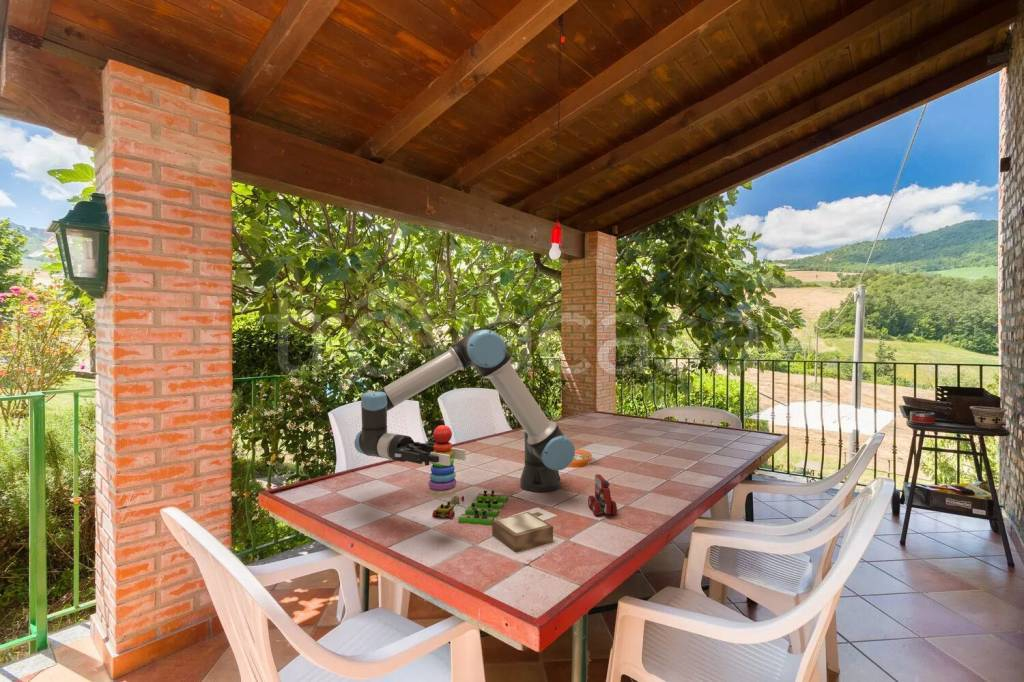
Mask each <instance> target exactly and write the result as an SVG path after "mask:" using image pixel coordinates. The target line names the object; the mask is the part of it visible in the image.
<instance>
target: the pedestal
mask: <svg viewBox="0 0 1024 682" xmlns="http://www.w3.org/2000/svg"><path fill="white" fill-rule="evenodd" d="M517 514H518V513H517ZM513 515H514V516H512V515H509V516H510V517H508V516H506V517H501V518H498V519H494V520H493V521H492V525H491V530H492V531H491V534H492V535H491V536H493V537H494V538H495V539H497V540H498V541H500V542H501V543H502V544H503V545H505V546H506V547H508V548H509V549H510V550H512V551H513V552H515V553H517V552H520V551H523V550H527V549H530V548H534V547H537V546H541V545H544V544H548V543H552V542H554V526H553V525H552V524H550V523H548V522H546V520H545V521H543V520H541V519H539V518H538V517H536V516H534V515H533V514H531V513H529V512H526V513H522V514H518V515H515V514H513Z"/></svg>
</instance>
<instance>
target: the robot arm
mask: <svg viewBox="0 0 1024 682" xmlns="http://www.w3.org/2000/svg"><path fill="white" fill-rule="evenodd" d="M512 359H513V358H512V356H511V354H510V353H509V351H508V350H507V346H506V343H505V340H504V339H503V338H502V336H501V335H500V334H498V333H497V332H495V331H493V330H490V329H480V330H479V329H478V330H474V331H471V332H469V333H468V334H466V335H465V336H464V337H463V338H461V339H459V340H458V341H457V342H455V343H453V344H452V345H450V346H449V347H448V350H447V351H445V352H444V353H442V354H440V355H437V356H436V357H435V358H433V359H431V360H429V361H428V362H427V361H426V363H424V364H423V365H420V366H419V367H417V368H416V369H414V370H412V371H410V372H408V373H406V374H405V375H403V376H401V377H400V378H398V379H396V380H394V381H392V382H391V383H389V384H387V385H386V386H384V387H382V388H380V389H378V390H376V391H369V392H368V391H367V392H364V393H362V394H361V399H360V400H361V402H360V407H361V430H360V431H359V432H358V433H357V434H356V435H355V439H354V448H355V450H356V451H357V452H358V453H360V454H362V455H366V456H367V457H377V458H380V459H386V460H387V459H388V461H389V462H391V461H395V462H400V463H405V462H409V463H414V464H419V465H422V464H423V463H424V466H429V465H430V464H432V463H435V464H441V465H446V466H450V455H447V454H441V453H435V452H433V451H435V450H434V448H433V446H434V444H435V443H436V442H432V441H429V440H428V441H425V442H420V441H414V439H413V438H412V437H411V436H409V435H404V434H399V433H392V432H388V412H389V411H390V410H392V409H393V408H395V407H396V406H398V405H400V404H402V403H403V402H405V401H407V400H409V399H410V398H413V396H416V395H417V394H420V393H421V392H423V391H424V390H426V389H427V388H429V387H431V386H433V385H435V384H436V383H438V382H440V381H442V380H443V379H445V378H447V377H448V376H450V375H452V374H454V373H455V372H457V371H464V370H466V369H468V368H470V367H473V366H474V368H475V369H476V370H477V372H478V373H479V375H480V376H481V378H483V379H488V380H489V381H490V382H491V384H492V385H493V387H494V388H495V389H496V391H497V393H498V394H499V395H500V397H501V398H502V400H503V401H504V402H505V404H506V406H507V407H508V408H509V410H510V412H511V413H512V414H513V416H514V417H515V418H516V420H517V421H518V423H519V424H520V426H521V427H522V429H523V430H524V433H523V435H524V466H523V469H522V473H521V475H520V478H519V487H520V488H521V489H523V490H525V491H529V492H535V493H536V492H537V493H547V492H549V493H550V492H555V491H557V490H559V489H560V488H561V487H562V479H561V475H560V474H559V473H560V472H559V471H563V470H565V469H567V468H568V467H569V466H570V465H571V464H572V462H573V461H574V460H575V455H576V447H575V445H574V443H573V441H572V440H571V439H570V438H569V437H568V436H566V435H565V434H564V433H563V431H562V430H561V428H560V426H559V425H558V424H557V422H556V421H552V420H549V418H548V417H547V416H546V415H545V413H544V411H543V410H542V408H541V406H539V404H538V402H537V401H536V399H535V397H534V396H533V395H532V393H531V392H530V390H529V389H528V388H527V387H526V385H525V384H524V382H523V380H522V379H521V377H520V376H519V374H518V373H517V372H516V369H515V368H514V367H513V365H512V364H511V363H512ZM450 450H451V451H452V453H453V454H452V457H453V459H454V460H458V461H459V460H460V461H466V460H467V455H466V454H467V453H466V449H462V448H457V447H452V448H451V449H450Z"/></svg>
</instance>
